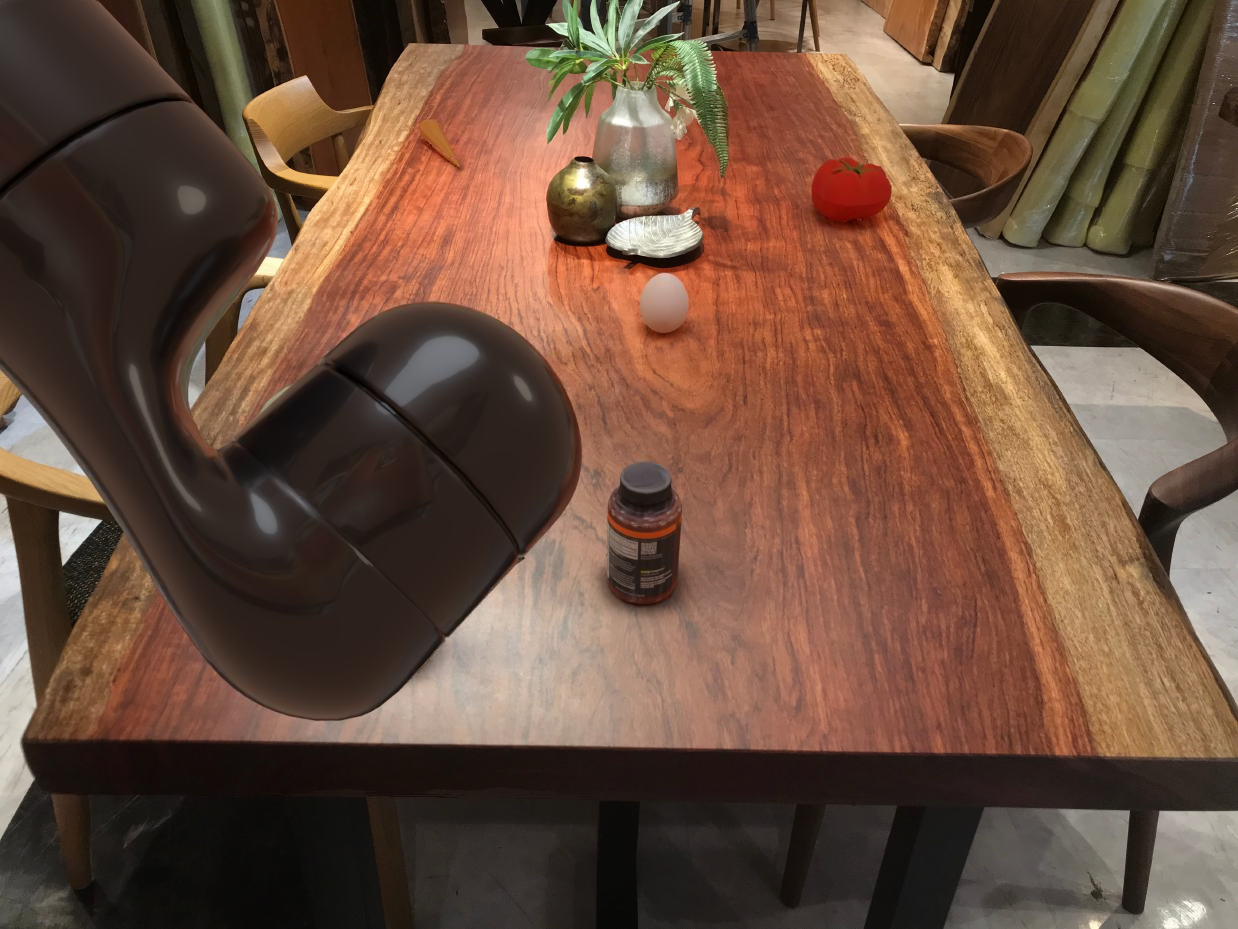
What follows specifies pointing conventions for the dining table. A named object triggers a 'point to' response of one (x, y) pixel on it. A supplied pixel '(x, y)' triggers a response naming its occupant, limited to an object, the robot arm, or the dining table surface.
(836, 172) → the tomato
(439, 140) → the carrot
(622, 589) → the supplement bottle
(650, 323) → the egg
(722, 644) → the dining table surface
